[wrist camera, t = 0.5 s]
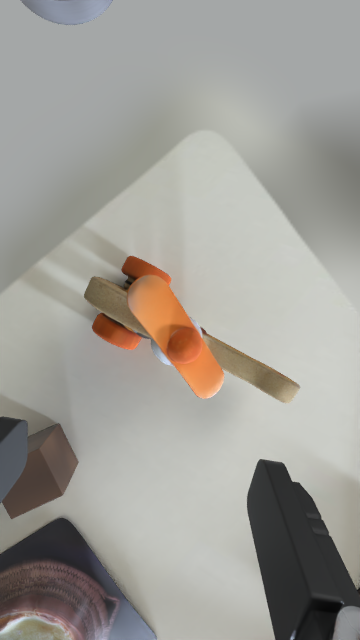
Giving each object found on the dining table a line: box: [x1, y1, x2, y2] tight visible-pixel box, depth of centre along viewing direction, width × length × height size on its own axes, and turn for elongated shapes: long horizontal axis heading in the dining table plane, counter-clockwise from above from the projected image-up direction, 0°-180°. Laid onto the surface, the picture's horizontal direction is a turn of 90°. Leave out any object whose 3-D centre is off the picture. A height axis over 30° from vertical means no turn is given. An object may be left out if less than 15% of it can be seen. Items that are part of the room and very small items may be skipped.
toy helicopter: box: [84, 256, 300, 403], centre depth 22 cm, size 8×21×14 cm, turn 62°
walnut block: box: [2, 423, 78, 519], centre depth 26 cm, size 5×5×5 cm
